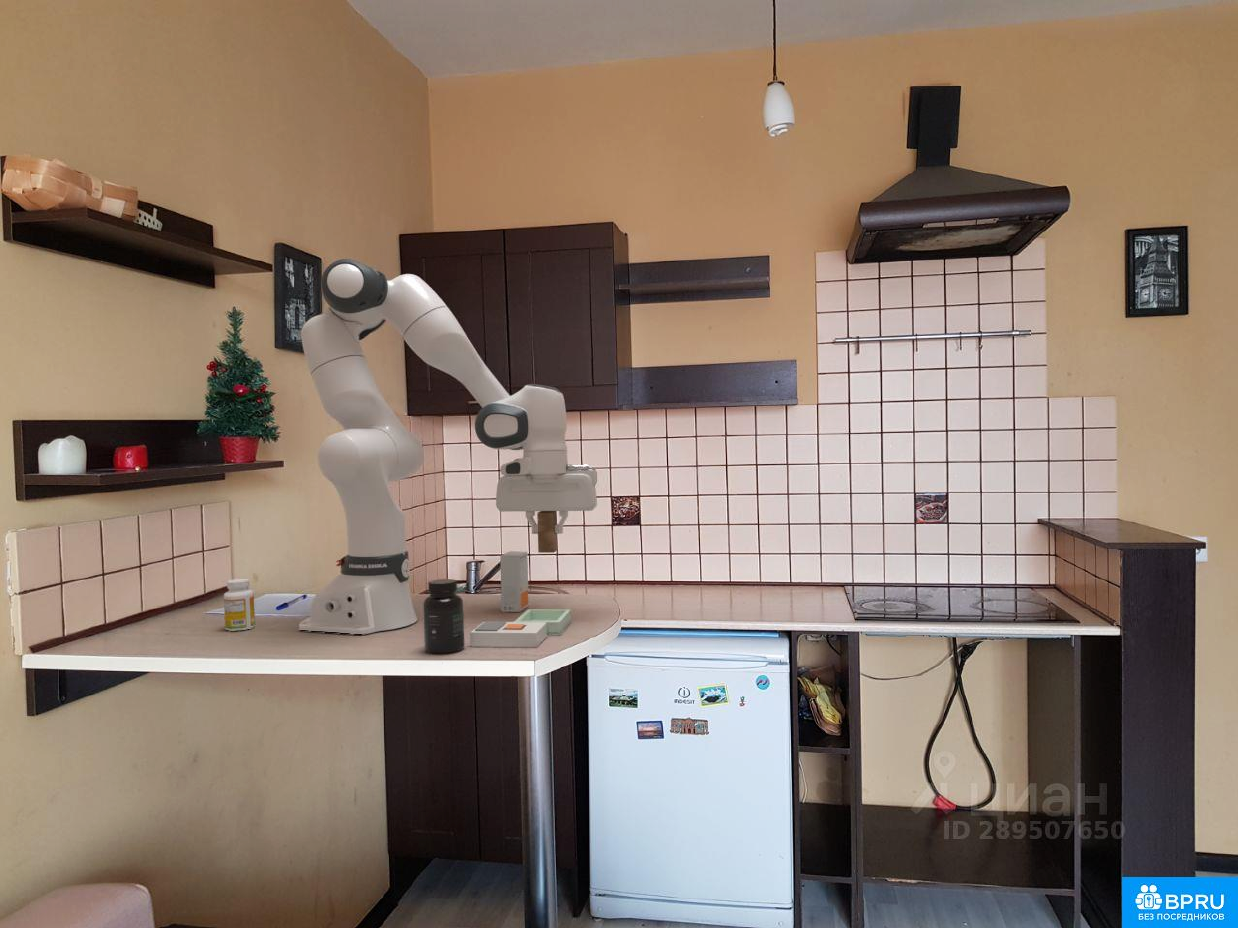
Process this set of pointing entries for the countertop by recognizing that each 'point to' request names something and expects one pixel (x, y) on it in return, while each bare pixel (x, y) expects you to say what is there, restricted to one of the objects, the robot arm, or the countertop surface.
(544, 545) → the wooden block
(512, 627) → the button
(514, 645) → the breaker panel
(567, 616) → the bay tray
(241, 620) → the supplement bottle
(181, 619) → the countertop surface
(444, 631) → the supplement bottle
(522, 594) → the skincare box
